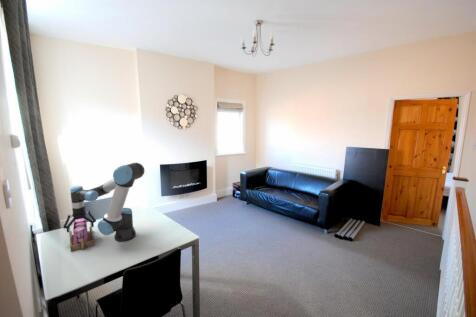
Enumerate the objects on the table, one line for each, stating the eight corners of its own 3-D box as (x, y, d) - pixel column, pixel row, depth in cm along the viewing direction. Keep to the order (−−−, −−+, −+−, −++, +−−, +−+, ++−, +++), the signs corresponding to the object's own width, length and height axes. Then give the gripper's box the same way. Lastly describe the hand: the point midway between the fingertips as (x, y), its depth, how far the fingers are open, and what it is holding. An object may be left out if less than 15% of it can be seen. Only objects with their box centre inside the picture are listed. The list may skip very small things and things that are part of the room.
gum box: (87, 245, 166) (86, 228, 164) (74, 249, 162) (72, 231, 159) (87, 232, 186) (86, 216, 183) (75, 234, 181) (74, 218, 179)
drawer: (91, 231, 189) (90, 222, 187) (94, 246, 166) (93, 236, 165) (70, 236, 180) (69, 226, 179) (70, 253, 158) (69, 242, 156)
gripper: (97, 202, 180) (99, 227, 183) (57, 208, 165) (60, 236, 169) (98, 204, 174) (100, 230, 177) (56, 212, 159) (60, 240, 163)
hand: (81, 233), depth 173 cm, fingers open, 13 cm apart
